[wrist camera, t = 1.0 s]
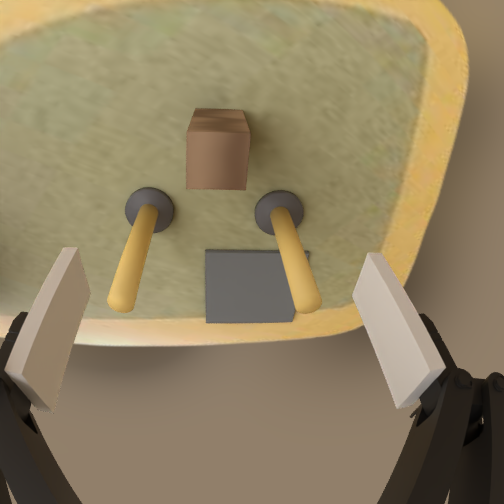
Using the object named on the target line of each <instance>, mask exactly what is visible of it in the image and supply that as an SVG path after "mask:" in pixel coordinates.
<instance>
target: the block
mask: <svg viewBox="0 0 504 504" xmlns="http://www.w3.org/2000/svg"><path fill="white" fill-rule="evenodd" d="M250 138H251V133H250V130H249V127H248V124H247V122H246V119H245V116H244V113H243V111H242V110H232V109H196V108H195V111H194V114H193V116H192V119H191V122H190V124H189V127H188V130H187V151H186V189H220V190H246V182H247V171H248V160H249V149H250Z"/></svg>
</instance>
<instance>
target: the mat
mask: <svg viewBox="0 0 504 504" xmlns="http://www.w3.org/2000/svg"><path fill="white" fill-rule="evenodd" d="M304 252H305V255H306V258H307V260H308V257H309V252H308V251H304ZM205 266H206V323H278V322H292V320H293V317H294V313H295V305H294V301H293V298H292V294H291V290H290V287H289V283H288V279H287V276H286V272H285V268H284V265H283V261H282V257H281V254H280V251H258V250H206V254H205Z"/></svg>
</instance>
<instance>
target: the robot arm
mask: <svg viewBox="0 0 504 504" xmlns="http://www.w3.org/2000/svg"><path fill="white" fill-rule="evenodd" d="M90 294H91V292H90V289H89V285H88V282H87V279H86V275H85V272H84V269H83V265H82V261H81V258H80V254H79V250H78V248H75V247H63V249H62V251H61V252H60V254H59V256H58V258H57V259H56V261H55V263H54V265H53V266H52V268H51V270H50V272H49V274H48V276H47V277H46V279H45V281H44V283H43V285H42V287H41V289H40V291H39V293H38V295H37V297H36V299H35V301H34V303H33V305H32V307H31V309H30V311H29V313H28V312H21V313H20V314H19V315H18V316H17V317H16V318H15V319H14V320H13V322H12V324H11V326H10V329H9V333H7V335H6V337H5V341H4V342H3V344H2V346H1V349H0V504H12V502H11V499H10V495H9V492H8V488H7V484H6V481H7V483H8V485H9V488H10V490H11V492H12V494H13V496H14V498H15V500H16V502H17V504H82V503H81V501H80V500H79V498H78V497H77V495H76V494H75V492H74V491H73V489H72V487H71V486H70V484H69V483H68V481H67V479H66V478H65V476H64V475H63V473H62V471H61V469H60V468H59V466H58V464H57V462H56V460H55V459H54V457H53V455H52V453H51V451H50V449H49V447H48V446H47V444H46V442H45V440H44V438H43V436H42V433H41V431H40V429H39V427H38V425H37V423H36V421H35V419H34V416H33V414H32V413H31V411H30V406H31V403H32V404H33V405H34V406H35V407H36V408H37V410H40V411H45V412H49V413H54V411H55V407H56V403H57V399H58V395H59V391H60V387H61V384H62V380H63V376H64V373H65V369H66V366H67V362H68V359H69V356H70V352H71V349H72V346H73V343H74V340H75V337H76V334H77V331H78V328H79V325H80V322H81V319H82V316H83V313H84V311H85V308H86V305H87V302H88V300H89V297H90ZM352 297H353V300H354V302H355V304H356V307H357V309H358V311H359V314H360V316H361V318H362V321H363V323H364V325H365V328H366V330H367V333H368V335H369V337H370V340H371V342H372V345H373V347H374V350H375V352H376V355H377V357H378V360H379V362H380V365H381V367H382V370H383V373H384V375H385V378H386V381H387V383H388V385H389V389H390V391H391V394H392V396H393V400H394V402H395V405H396V408H397V409H399V408H403V407H407V406H411V405H413V404H414V403H415V402H416V401H417V400H418V398H420V401H421V405H420V406H419V407H418V408H417V409H416V410H415V411H414V412H413V413H412V414H411V416H410V418H412V417H413V416H414V415H415V414H416V416H415V419H414V421H413V424H412V427H411V430H410V432H409V435H408V437H407V440H406V443H405V445H404V447H403V450H402V452H401V454H400V457H399V459H398V461H397V464H396V466H395V468H394V470H393V473H392V475H391V477H390V479H389V481H388V483H387V485H386V487H385V489H384V491H383V493H382V496H381V497H380V499H379V501H378V503H377V504H444V503H445V501H446V498H447V495H448V492H449V490H450V493H449V501H448V504H504V376H503V375H502V374H500V373H498V372H494V373H492V374H490V375H489V376H488V377H487V378H486V379H477V378H473V377H471V375H470V374H469V373H468V372H467V371H466V370H464V369H460V368H457V366H456V365H455V363H454V361H453V359H452V357H451V355H450V353H449V351H448V349H447V347H446V345H445V343H444V342H443V341H442V338H441V336H440V334H439V333H438V331H437V329H436V327H435V326H434V324H433V322H432V321H431V320H430V319H429V318H428V317H427V316H426V315H425V314H418V313H417V311H416V309H415V308H414V306H413V304H412V302H411V301H410V299H409V297H408V295H407V294H406V292H405V290H404V289H403V287H402V285H401V284H400V282H399V280H398V279H397V277H396V275H395V274H394V272H393V270H392V269H391V267H390V266H389V264H388V262H387V261H386V259H385V258H384V256H383V254H382V253H367V256H366V259H365V262H364V265H363V267H362V270H361V273H360V276H359V278H358V281H357V284H356V286H355V289H354V292H353V294H352ZM482 418H483V419H484V421H483V422H484V424H482ZM5 479H6V480H5Z"/></svg>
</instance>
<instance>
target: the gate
mask: <svg viewBox="0 0 504 504" xmlns="http://www.w3.org/2000/svg"><path fill="white" fill-rule="evenodd" d="M173 211H174V209H173V204H172V202H171V200H170V198H169V197H168V196H167V195H166V194H165V193H164V192H162V191H161V190H158V189H155V188H149V187H148V188H141V189H139V190H137V191H135V192H134V193H133V194H132V195H131V196H130V197H129V199H128V201H127V203H126V207H125V214H126V217H127V220H128V221H129V223H130V224H131V225H132V226H133V227H132V230H131V233H130V235H129V238H128V240H127V243H126V246H125V249H124V251H123V254H122V257H121V260H120V263H119V265H118V268H117V271H116V274H115V277H114V280H113V283H112V286H111V289H110V292H109V295H108V299H107V302H108V305H109V306H110V307H111V308H112V309H113V310H115V311H117V312H121V313H127V312H130V311H132V310H133V308H134V305H135V300H136V296H137V292H138V288H139V283H140V279H141V275H142V271H143V267H144V264H145V260H146V256H147V252H148V249H149V245H150V241H151V238H152V234H153V233H158V232H161V231H163V230H164V229H166V228H167V227H168V226H169V224H170V223H171V221H172V217H173ZM302 218H303V207H302V204H301V202H300V200H299V199H298V197H297V196H296V195H294V194H293V193H291V192H288V191H284V190H277V191H272V192H270V193H268V194H266V195H264V196H263V197H262V198H261V199H260V200H259V202H258V203H257V205H256V208H255V219H256V222H257V225H258V226H259V228H260V229H261V230H262V231H264V232H265V233H267V234H270V235H275V236H276V239H277V243H278V247H279V250H280V254H281V257H282V261H283V265H284V268H285V272H286V276H287V279H288V283H289V287H290V290H291V294H292V298H293V301H294V305H295V309H296V310H297V311H298V312H299V313H302V314H308V313H312V312H314V311H316V310H317V309H319V308H320V306H321V304H322V299H321V296H320V293H319V291H318V288H317V285H316V282H315V279H314V277H313V274H312V271H311V269H310V266H309V263H308V260H307V258H306V255H305V252H304V250H303V247H302V244H301V242H300V239H299V237H298V234H297V231H296V228H297V227H298V226H299V224H300V223H301V221H302Z"/></svg>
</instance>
